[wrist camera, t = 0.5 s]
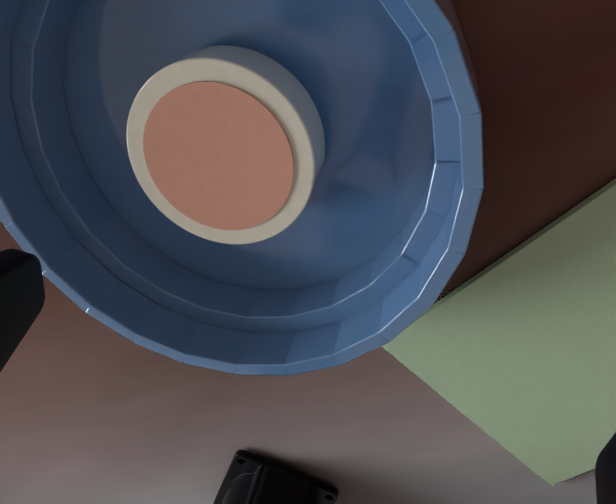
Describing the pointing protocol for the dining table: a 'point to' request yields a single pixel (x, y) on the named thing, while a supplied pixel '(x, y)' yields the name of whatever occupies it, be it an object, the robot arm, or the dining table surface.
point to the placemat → (532, 343)
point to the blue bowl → (287, 244)
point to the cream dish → (226, 144)
